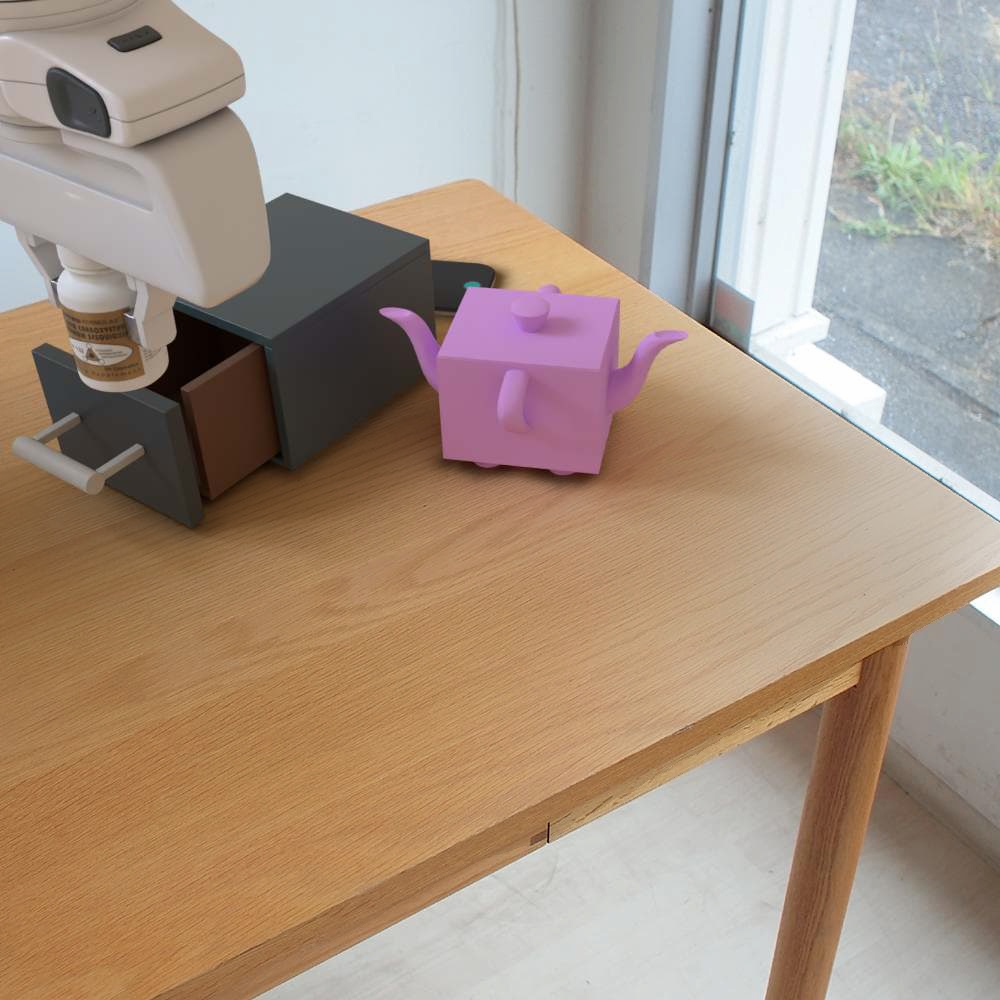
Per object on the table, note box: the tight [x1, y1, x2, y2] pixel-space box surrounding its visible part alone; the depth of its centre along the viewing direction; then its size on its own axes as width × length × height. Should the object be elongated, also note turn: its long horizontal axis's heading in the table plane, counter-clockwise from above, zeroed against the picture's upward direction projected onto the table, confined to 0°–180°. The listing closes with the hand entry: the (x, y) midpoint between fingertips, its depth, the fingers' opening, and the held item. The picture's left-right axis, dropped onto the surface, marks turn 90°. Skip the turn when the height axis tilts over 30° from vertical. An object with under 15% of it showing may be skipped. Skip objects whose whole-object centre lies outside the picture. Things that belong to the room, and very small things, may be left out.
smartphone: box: [431, 259, 497, 318], centre depth 106 cm, size 8×1×15 cm
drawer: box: [11, 308, 282, 529], centre depth 86 cm, size 19×12×9 cm, turn 144°
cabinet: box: [172, 192, 438, 472], centre depth 93 cm, size 16×14×11 cm
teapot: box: [379, 284, 689, 476], centre depth 87 cm, size 15×13×11 cm
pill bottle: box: [56, 245, 169, 392], centre depth 63 cm, size 4×4×8 cm
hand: (114, 323), depth 64 cm, fingers closed on pill bottle, 4 cm apart
